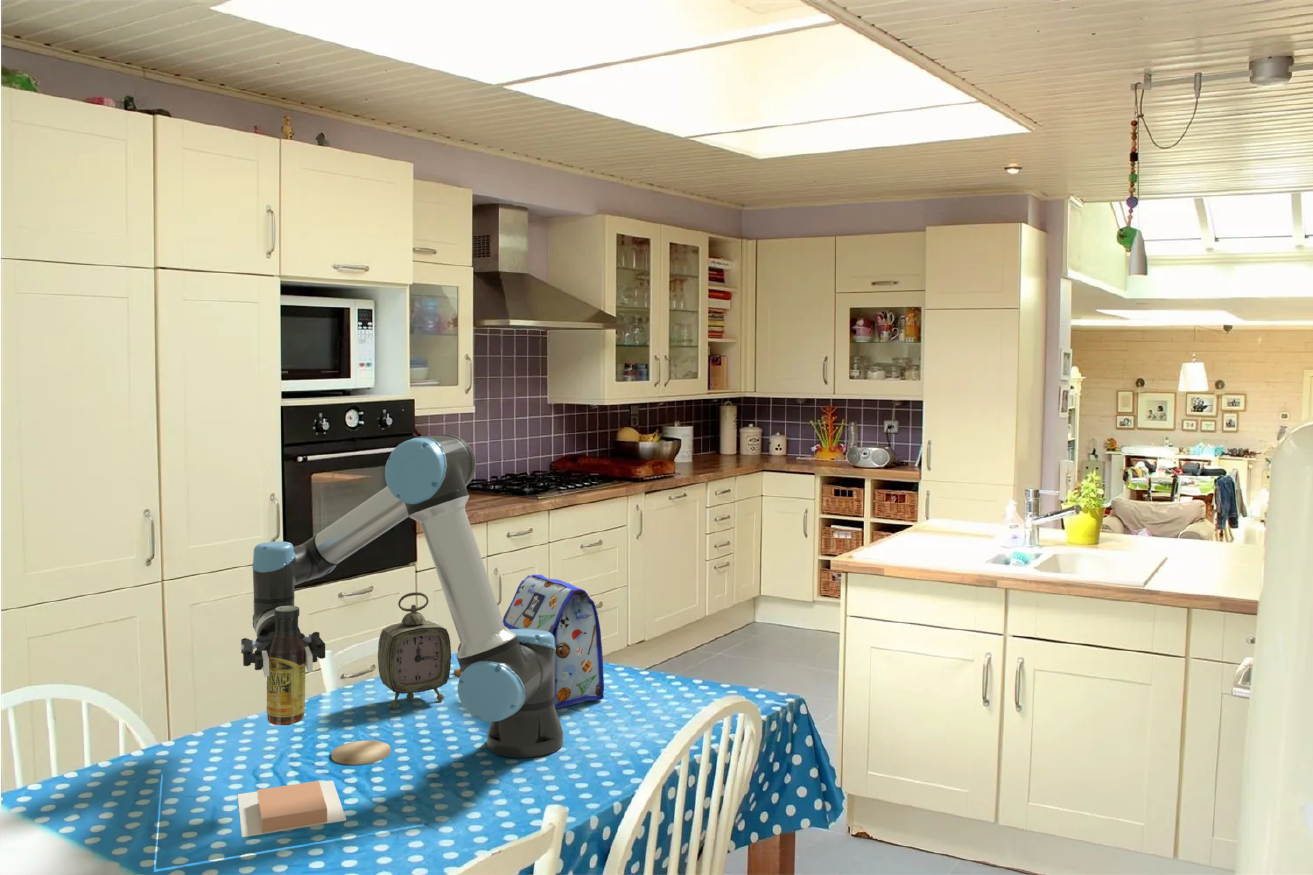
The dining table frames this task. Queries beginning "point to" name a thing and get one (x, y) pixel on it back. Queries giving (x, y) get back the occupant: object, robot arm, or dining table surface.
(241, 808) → the white mat
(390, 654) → the tabletop clock
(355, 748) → the cork coaster
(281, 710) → the sauce bottle
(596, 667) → the lunch bag
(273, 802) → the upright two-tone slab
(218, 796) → the dining table surface
